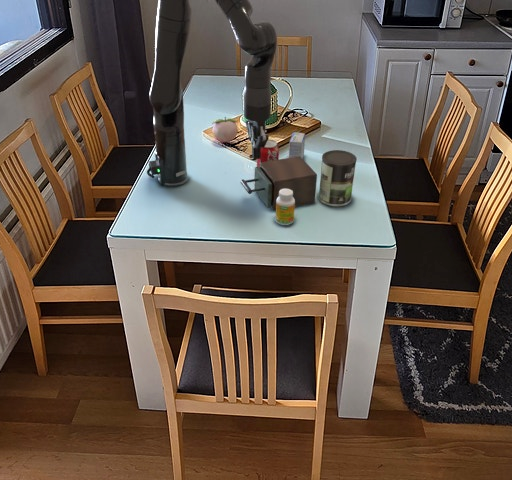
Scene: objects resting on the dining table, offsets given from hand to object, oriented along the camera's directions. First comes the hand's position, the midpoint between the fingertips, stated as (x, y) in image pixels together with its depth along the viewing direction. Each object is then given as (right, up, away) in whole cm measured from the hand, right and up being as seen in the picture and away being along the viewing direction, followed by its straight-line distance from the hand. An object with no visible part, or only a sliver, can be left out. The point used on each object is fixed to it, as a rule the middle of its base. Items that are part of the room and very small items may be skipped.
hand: (256, 157), depth 168 cm
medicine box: (+14, +5, +32) cm, 35 cm away
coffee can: (+25, -11, +12) cm, 29 cm away
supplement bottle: (+8, -19, +1) cm, 20 cm away
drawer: (+5, -10, +10) cm, 15 cm away
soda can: (+4, -2, +22) cm, 23 cm away
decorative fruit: (-11, +14, +42) cm, 46 cm away
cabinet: (+9, -10, +12) cm, 18 cm away
